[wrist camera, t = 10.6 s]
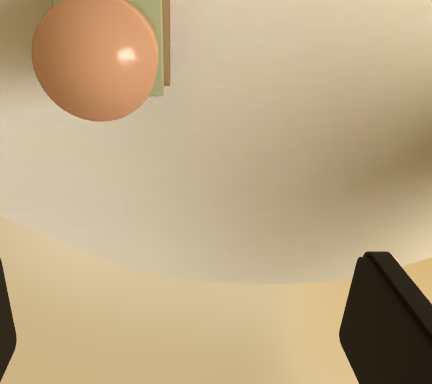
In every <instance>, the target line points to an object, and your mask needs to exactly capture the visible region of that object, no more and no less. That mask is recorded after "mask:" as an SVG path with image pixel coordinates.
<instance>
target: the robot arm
mask: <svg viewBox="0 0 432 384" xmlns="http://www.w3.org/2000/svg"><path fill="white" fill-rule="evenodd" d="M339 337H340V343H341V345H342V347H343V350H344V352H345V354H346V356H347V358H348V360H349V363H350V365H351V367H352V369H353V371H354V373H355V375H356V377H357V380H358V382H359V384H432V304H431V303H430V302H429V300H428V299H427V298H426V297H425V296H424V294H423V293H422V292H421V291H420V289H419V288H418V287H417V286H416V284H415V283H414V282H413V281H412V279H410V277H409V276H408V275H407V273H406V272H405V271H404V270H403V268H402V267H401V266H400V265H399V263H398V262H397V261H396V260H395V259H394V257H393V256H392V255H391V254H390V253H389V252H366V253H365V254H364V255H363V257H359V258H358V260H357V263H356V267H355V271H354V275H353V279H352V283H351V287H350V291H349V295H348V299H347V303H346V307H345V311H344V315H343V319H342V323H341V327H340V331H339ZM15 347H16V332H15V327H14V322H13V317H12V312H11V307H10V302H9V297H8V292H7V287H6V282H5V278H4V272H3V267H2V262H1V259H0V381H1V379H2V377H3V374H4V373H5V370H6V368H7V366H8V364H9V361H10V359H11V357H12V355H13V353H14V350H15Z"/></svg>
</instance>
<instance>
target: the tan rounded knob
mask: <svg viewBox="0 0 432 384" xmlns="http://www.w3.org/2000/svg"><path fill="white" fill-rule="evenodd" d="M158 57H159V41H158V36H157V33H156V30H155V27H154V25H153V23H152V21H151V20H150V18H149V17H148V16H147V14H146V13H145V12H144V11H143V10H142V9H141V8H140V7H139V6H138V5H136V4H135V3H133V2H132V1H130V0H64V1H62V2H60V3H58V4H56V5H55V6H54V7H52V8H51V9H50V10H49V11H48V12H47V13H46V14H45V15H44V16H43V18H42V19H41V21H40V22H39V24H38V26H37V28H36V31H35V34H34V37H33V43H32V61H33V66H34V70H35V73H36V76H37V78H38V80H39V82H40V84H41V86H42V88H43V89H44V91H45V92H46V93H47V95H48V96H49V97H50V98H51V99H52V100H53V101H54V102H55V103H56V104H57V105H58V106H60V107H61V108H62V109H63V110H65V111H67V112H68V113H70V114H72V115H74V116H77V117H79V118H82V119H86V120H91V121H111V120H116V119H119V118H122V117H125V116H127V115H129V114H130V113H132V112H133V111H135V110H136V109H137V108H139V107H140V106H141V105H142V104H143V102H144V101H145V100H146V99H147V97H148V96H149V94H150V92H151V90H152V88H153V85H154V82H155V78H156V72H157V65H158Z"/></svg>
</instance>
